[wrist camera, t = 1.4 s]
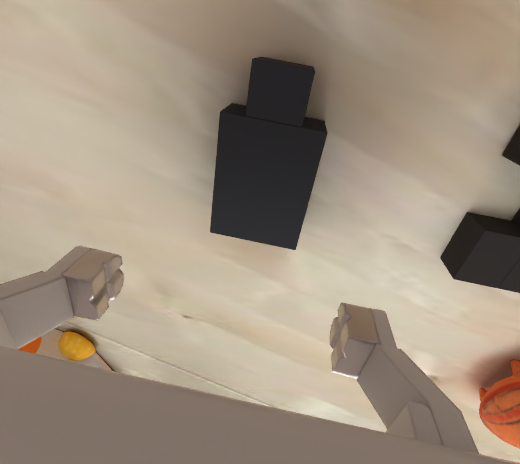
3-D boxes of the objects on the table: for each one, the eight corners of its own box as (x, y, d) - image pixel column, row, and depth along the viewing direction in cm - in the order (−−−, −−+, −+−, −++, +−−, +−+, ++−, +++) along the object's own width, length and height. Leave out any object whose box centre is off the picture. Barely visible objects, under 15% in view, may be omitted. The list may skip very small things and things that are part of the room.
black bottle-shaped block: (220, 212, 24) (209, 232, 21) (236, 52, 18) (224, 52, 15) (296, 228, 23) (295, 250, 21) (338, 71, 18) (343, 75, 15)
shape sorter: (158, 412, 41) (70, 626, 26) (96, 416, 44) (-15, 610, 29) (66, 306, 32) (-150, 538, 17) (-3, 320, 35) (-240, 528, 20)
